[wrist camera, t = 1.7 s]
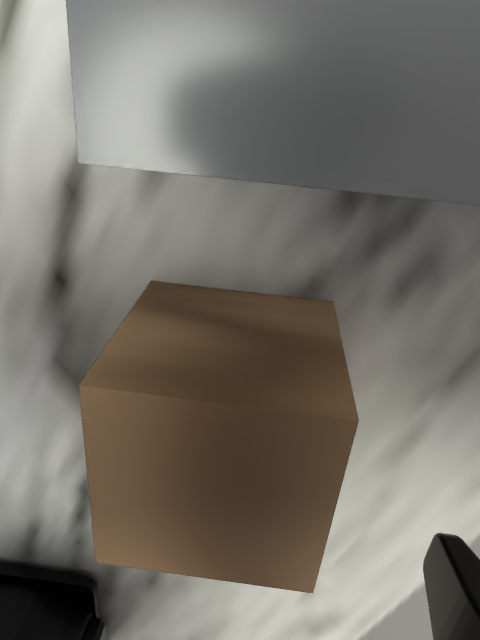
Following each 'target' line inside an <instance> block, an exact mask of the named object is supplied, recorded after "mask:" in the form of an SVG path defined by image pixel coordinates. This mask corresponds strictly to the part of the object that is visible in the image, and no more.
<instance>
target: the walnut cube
mask: <svg viewBox="0 0 480 640" xmlns="http://www.w3.org/2000/svg"><path fill="white" fill-rule="evenodd" d="M79 393H80V403H81V414H82V424H83V434H84V445H85V455H86V465H87V475H88V486H89V496H90V506H91V517H92V527H93V537H94V548H95V558H96V563H102V564H109V565H116V566H123V567H131V568H138V569H145V570H152V571H159V572H166V573H173V574H180V575H187V576H194V577H201V578H208V579H215V580H223V581H230V582H237V583H244V584H251V585H258V586H265V587H272V588H279V589H286V590H293V591H300V592H307V593H313V592H314V588H315V584H316V580H317V576H318V573H319V569H320V565H321V561H322V557H323V554H324V550H325V546H326V542H327V538H328V535H329V531H330V527H331V523H332V519H333V516H334V512H335V508H336V504H337V501H338V497H339V493H340V489H341V485H342V482H343V478H344V474H345V470H346V466H347V463H348V459H349V455H350V451H351V447H352V444H353V440H354V436H355V432H356V428H357V425H358V421H359V420H358V415H357V411H356V406H355V401H354V397H353V392H352V388H351V383H350V378H349V374H348V369H347V364H346V360H345V355H344V351H343V346H342V341H341V337H340V332H339V327H338V323H337V318H336V314H335V309H334V304H333V302H330V301H322V300H313V299H304V298H295V297H287V296H278V295H269V294H261V293H252V292H243V291H234V290H226V289H217V288H208V287H200V286H191V285H182V284H174V283H165V282H156V281H151V282H150V283H149V285H148V286H147V287H146V289H145V290H144V292H143V293H142V295H141V296H140V298H139V299H138V300H137V302H136V303H135V305H134V306H133V308H132V309H131V311H130V312H129V313H128V315H127V316H126V318H125V319H124V321H123V322H122V324H121V325H120V326H119V328H118V329H117V331H116V332H115V334H114V335H113V337H112V338H111V339H110V341H109V342H108V344H107V345H106V347H105V348H104V350H103V351H102V352H101V354H100V355H99V357H98V358H97V360H96V361H95V363H94V364H93V366H92V367H91V368H90V370H89V371H88V373H87V374H86V376H85V377H84V379H83V380H82V381H81V383H80V384H79Z"/></svg>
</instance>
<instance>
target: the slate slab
mask: <svg viewBox="0 0 480 640" xmlns="http://www.w3.org/2000/svg"><path fill="white" fill-rule="evenodd" d="M66 8H67V21H68V34H69V47H70V60H71V74H72V87H73V100H74V113H75V126H76V139H77V153H78V163H83V164H93V165H102V166H112V167H121V168H131V169H140V170H150V171H159V172H169V173H178V174H188V175H197V176H207V177H216V178H226V179H235V180H245V181H254V182H264V183H273V184H283V185H293V186H302V187H312V188H321V189H331V190H340V191H350V192H359V193H369V194H378V195H388V196H397V197H407V198H416V199H426V200H435V201H445V202H454V203H464V204H473V205H480V0H66Z"/></svg>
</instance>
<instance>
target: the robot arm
mask: <svg viewBox="0 0 480 640" xmlns="http://www.w3.org/2000/svg"><path fill="white" fill-rule="evenodd" d="M423 572H424V579H425V586H426V593H427V599H428V606H429V613H430V620H431V627H432V633H433V640H480V559H479V558H478V557H477V556H476V555H475V553H474V552H473V551H472V550H471V549H470V548H469V547H468V545H467V544H466V543H465V542H464V541H463V540H462V539H461V538H460V537H458V536H456V535H451V534H444V533H437V534H436V535H435V536H434V537H433V539H432V542H431V544H430V547H429V549H428V551H427V554H426V556H425V559H424V563H423ZM0 640H107V635H106V625H105V623H104V621H103V619H102V618H101V617H100V607H99V596H98V586H97V583H96V581H95V580H94V579H92V578H90V577H87V576H82V575H75V574H68V573H61V572H54V571H47V570H40V569H33V568H26V567H19V566H12V565H5V564H0Z"/></svg>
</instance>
